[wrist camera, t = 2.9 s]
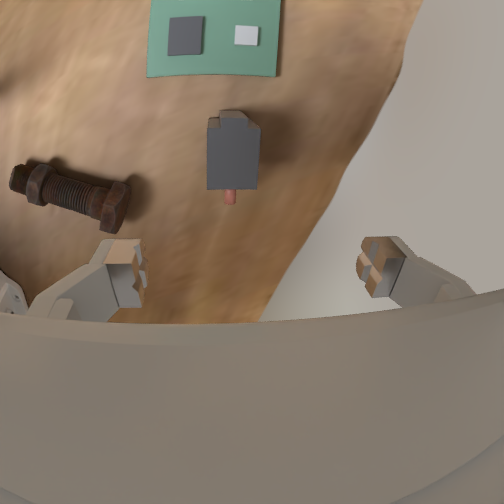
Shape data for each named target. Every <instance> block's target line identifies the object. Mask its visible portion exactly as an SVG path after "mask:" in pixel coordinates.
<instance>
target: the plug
mask: <svg viewBox="0 0 504 504" xmlns="http://www.w3.org/2000/svg"><path fill="white" fill-rule="evenodd" d="M260 137H261V128H260V127H258V126H257V125H256V124H255V123H254V122H253V121H252V120H251V119H248V117H247V116H245V115H244V114H243V113H242V112H241V111H232V110H220V118H209V122H208V127H207V190H216V189H225V200H224V203H225V204H228V205H232V204H235V203H236V189H252V190H257V180H258V166H259V151H260Z"/></svg>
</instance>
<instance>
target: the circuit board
mask: <svg viewBox="0 0 504 504" xmlns="http://www.w3.org/2000/svg"><path fill="white" fill-rule="evenodd" d="M280 3H281V0H151V10H150V21H149V34H148V51H147V78H152V77H163V76H178V75H250V76H265V77H275V76H276V62H277V48H278V33H279V18H280Z"/></svg>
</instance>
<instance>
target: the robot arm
mask: <svg viewBox="0 0 504 504" xmlns="http://www.w3.org/2000/svg"><path fill="white" fill-rule="evenodd" d="M361 248H362V250H363V252H362V253H361V254H360V255H359V256H358V259H357V263H356V271H357V274H358V276H359V278H360V279H361V280H362V281H364V282H365V283H366V284H365V288H366V289H367V291H368V292H369V294H370V296H371V297H372V298H376V297H390V298H391V299H392V300H393V301H395V302H396V303H397V304H398V305H400V306H401V307H402V308H399V309H392V310H384V311H377V312H369V313H361V314H353V315H343V316H333V317H324V318H312V319H299V320H286V321H270V322H249V323H220V324H141V323H113V322H107V321H108V320H109V319H110V318H111V317H112V316H113V315H114V314H115V313H116V312H117V310H118V309H119V308H142V305H143V301H144V297H145V292H144V288H145V287H146V286H147V285H148V280H149V266H148V260H147V259H146V258H145V257H144V253H145V250H146V248H145V243H144V240H143V239H116V238H114V239H103V240H102V241H101V243H100V244H99V246H98V248H97V249H96V251H95V253H94V255H93V256H92V258H91V260H90V262H89V264H84V265H82V266H81V267H79V268H78V269H76V270H74V271H73V272H71V273H70V274H68V275H67V276H65V277H63V278H62V279H60V280H59V281H57V282H56V283H54V284H53V285H51V286H50V287H48V288H47V289H45V290H44V291H42V292H41V293H40V294H38V295H37V296H36V297H35V299H34V300H33V302H32V304H31V306H30V307H29V309H28V306H27V303H26V300H25V296H24V293H23V290H22V288H21V287H20V286H19V285H18V284H17V283H16V282H14V281H13V280H11V279H10V278H8V277H7V276H6V275H5V274H4V273H3V272H2V271H1V270H0V504H504V289H500V290H496V291H492V292H487V293H483V294H478V295H477V294H476V293H475V292H474V291H473V290H472V289H471V288H470V286H469V285H468V284H467V283H466V282H465V281H464V280H462V279H461V278H459V277H457V276H455V275H453V274H451V273H449V272H448V271H446V270H444V269H442V268H440V267H438V266H436V265H435V264H433V263H431V262H429V261H427V260H425V259H423V258H421V257H417V256H416V255H415V254H414V252H413V251H412V250H411V249H410V248H408V246H407V245H406V244H405V243H404V242H403V241H402V240H401V239H400V238H399V237H397V236H392V237H391V236H389V237H365V238H364V240H363V241H362V245H361Z"/></svg>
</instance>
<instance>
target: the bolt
mask: <svg viewBox="0 0 504 504" xmlns="http://www.w3.org/2000/svg"><path fill="white" fill-rule="evenodd" d="M9 187H10V189H11V190H13V191H15V192H17V193H21V194H23V195H26V196H27V200H28V202H29V203H32V204H35V205H39V206H45V205H47V204H48V203H51V204H54V205H57V206H60V207H63V208H66V209H69V210H73V211H76V212H79V213H82V214H84V215H87V216H90V217H91V218H94V219H97V220H100V221H101V222H100V229H99V230H101V231H104V232H108V233H112V234H116V233H117V232H118V231H119V229H120V227H121V225H122V223H123V220H124V217H125V214H126V211H127V208H128V204H129V200H130V194H131V187H130V186H128V185H126V184H123V183H120V182H117V181H115V182H114V184H113V186H112V188H111V189H107V188H104V187H97V186H94V185H91V184H88V183H87V184H86V183H83V182H81V181H78V180H73V179H71V178H68V177H63V176H61V175H58V174H57V171H56V169H55V168H53V167H51V166H48V165H45V164H41V163H40V164H39V165H38V166H37V167H36V168H33V167H30V166H26V165H23V164H20V165H17V166H15V167H14V168H13V170H12V173H11V177H10V182H9Z"/></svg>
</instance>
